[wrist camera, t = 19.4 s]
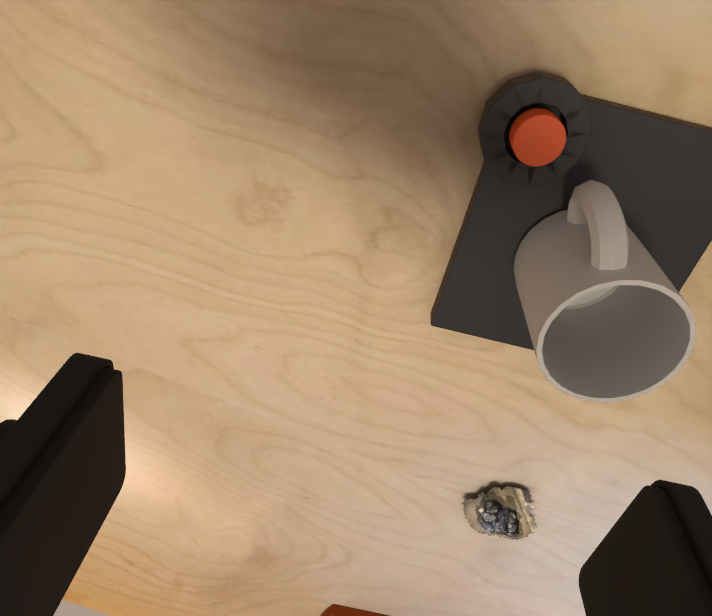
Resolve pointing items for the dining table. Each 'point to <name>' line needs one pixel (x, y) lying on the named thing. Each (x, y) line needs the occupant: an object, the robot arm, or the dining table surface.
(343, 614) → the book
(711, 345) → the dining table surface
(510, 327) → the scale
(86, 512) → the robot arm
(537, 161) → the button
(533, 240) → the cup
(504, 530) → the mineral rock
